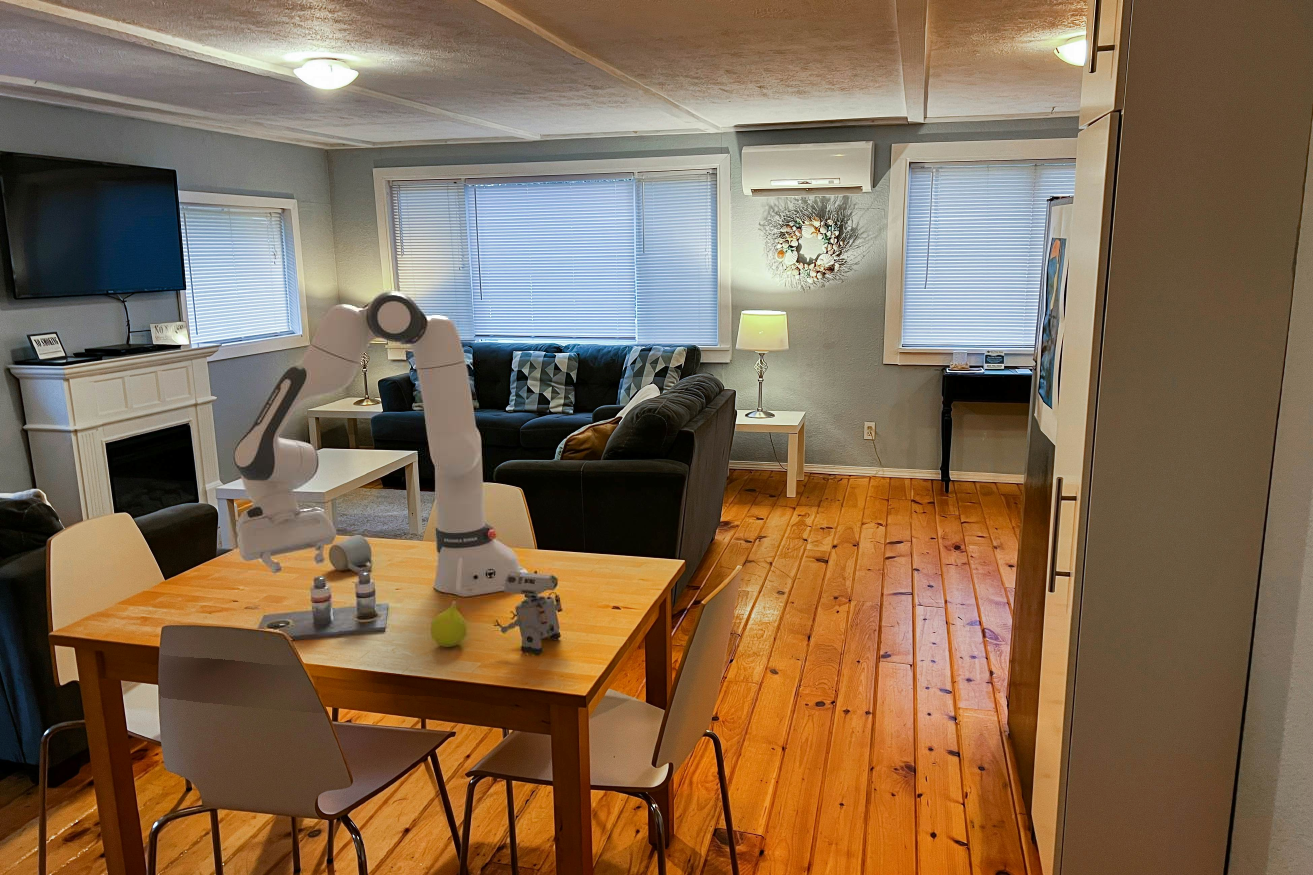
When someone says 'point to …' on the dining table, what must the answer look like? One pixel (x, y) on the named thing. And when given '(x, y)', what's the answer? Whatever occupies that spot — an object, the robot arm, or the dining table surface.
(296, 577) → the dining table surface
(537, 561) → the dining table surface
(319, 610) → the red-banded small bottle
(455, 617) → the ornament
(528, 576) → the figurine
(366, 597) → the dark-banded small bottle
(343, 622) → the plate
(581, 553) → the dining table surface
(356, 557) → the ceramic mug
